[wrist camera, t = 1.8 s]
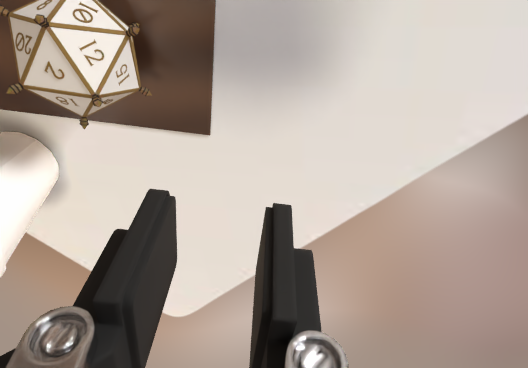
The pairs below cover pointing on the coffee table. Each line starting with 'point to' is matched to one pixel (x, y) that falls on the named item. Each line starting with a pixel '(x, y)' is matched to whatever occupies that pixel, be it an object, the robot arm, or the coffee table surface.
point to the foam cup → (22, 187)
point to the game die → (74, 54)
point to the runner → (142, 67)
